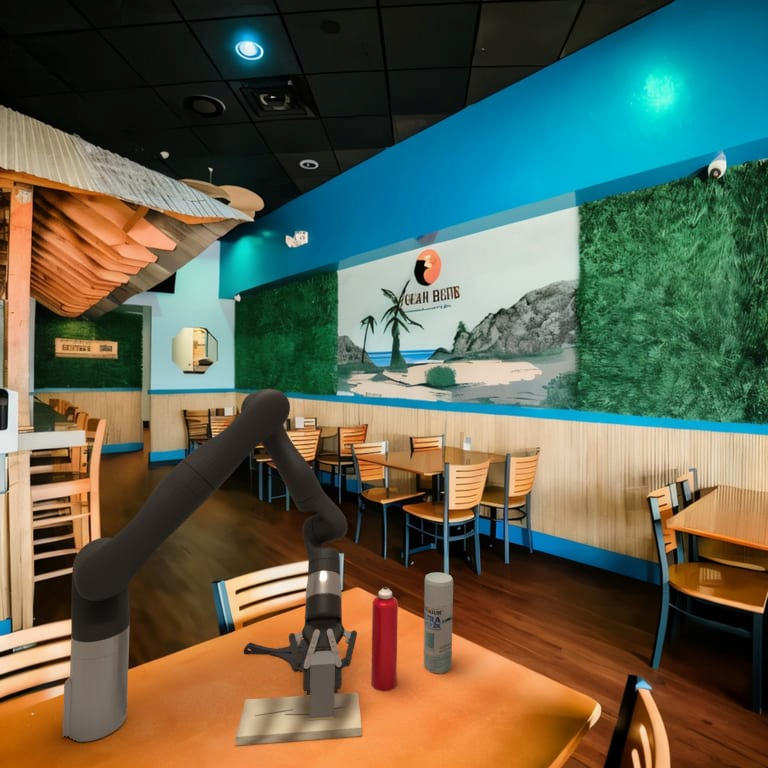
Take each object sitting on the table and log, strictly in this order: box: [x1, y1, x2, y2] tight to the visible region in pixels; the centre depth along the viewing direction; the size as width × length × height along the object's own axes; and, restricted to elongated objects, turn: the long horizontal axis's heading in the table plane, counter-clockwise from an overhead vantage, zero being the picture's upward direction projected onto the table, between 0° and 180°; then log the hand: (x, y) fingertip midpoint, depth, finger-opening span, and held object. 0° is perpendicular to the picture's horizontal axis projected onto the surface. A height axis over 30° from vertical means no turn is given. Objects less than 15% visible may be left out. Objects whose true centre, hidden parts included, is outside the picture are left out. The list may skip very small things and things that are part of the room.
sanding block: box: [309, 651, 335, 720], centre depth 88 cm, size 5×5×10 cm
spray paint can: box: [423, 571, 454, 674], centre depth 106 cm, size 6×6×20 cm
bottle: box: [370, 586, 399, 692], centre depth 100 cm, size 5×5×20 cm
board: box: [235, 691, 363, 747], centre depth 87 cm, size 22×10×2 cm, turn 97°
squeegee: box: [243, 638, 309, 673], centre depth 110 cm, size 14×15×3 cm
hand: (322, 692), depth 86 cm, fingers closed on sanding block, 4 cm apart
